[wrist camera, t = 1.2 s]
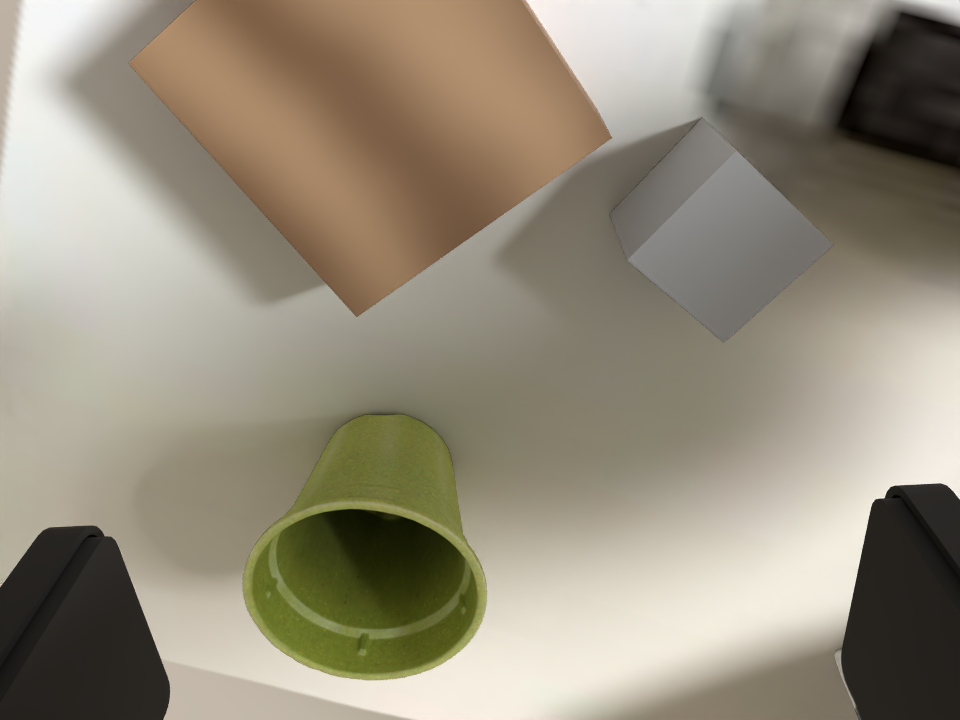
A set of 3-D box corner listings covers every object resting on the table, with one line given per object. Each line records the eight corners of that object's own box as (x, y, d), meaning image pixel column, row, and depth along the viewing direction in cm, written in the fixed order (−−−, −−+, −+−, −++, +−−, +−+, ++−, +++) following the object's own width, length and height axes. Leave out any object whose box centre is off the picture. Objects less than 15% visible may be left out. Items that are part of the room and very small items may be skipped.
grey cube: (702, 116, 31) (736, 150, 26) (787, 199, 32) (833, 244, 28) (609, 213, 32) (626, 260, 28) (694, 287, 34) (723, 342, 30)
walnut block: (413, -172, 26) (397, -189, 22) (595, 105, 31) (612, 138, 26) (181, 41, 30) (128, 63, 25) (374, 265, 34) (356, 317, 30)
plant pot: (529, 458, 38) (538, 592, 31) (404, 568, 42) (384, 713, 34) (373, 341, 35) (340, 458, 28) (253, 470, 39) (194, 605, 31)
